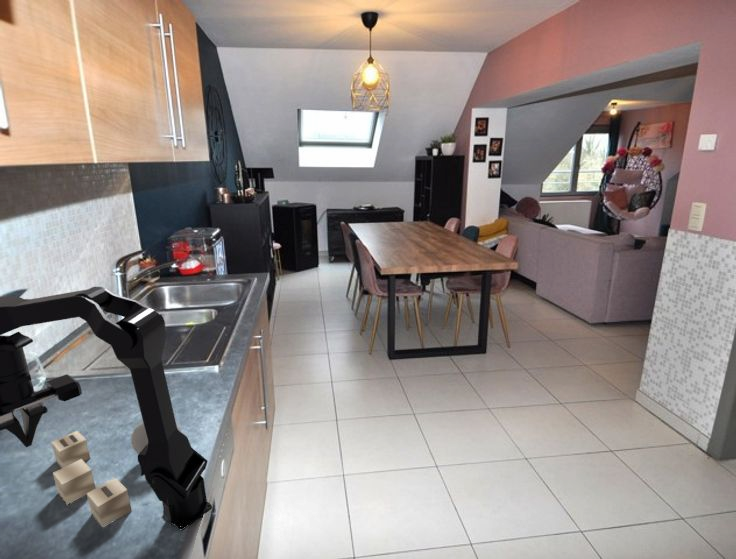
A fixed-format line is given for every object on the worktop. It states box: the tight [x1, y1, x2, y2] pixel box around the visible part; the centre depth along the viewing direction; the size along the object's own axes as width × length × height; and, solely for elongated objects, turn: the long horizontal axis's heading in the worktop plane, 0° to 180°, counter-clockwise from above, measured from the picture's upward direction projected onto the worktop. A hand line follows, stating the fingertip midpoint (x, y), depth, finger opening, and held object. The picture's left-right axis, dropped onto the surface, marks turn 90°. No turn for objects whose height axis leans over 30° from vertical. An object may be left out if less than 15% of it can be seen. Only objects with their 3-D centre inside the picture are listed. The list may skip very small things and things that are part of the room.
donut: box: [130, 420, 182, 455], centre depth 94 cm, size 10×3×10 cm, turn 105°
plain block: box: [52, 459, 97, 506], centre depth 85 cm, size 5×5×5 cm
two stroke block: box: [51, 430, 91, 469], centre depth 94 cm, size 5×5×5 cm
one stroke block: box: [86, 477, 133, 528], centre depth 80 cm, size 5×5×5 cm
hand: (28, 445), depth 79 cm, fingers closed
